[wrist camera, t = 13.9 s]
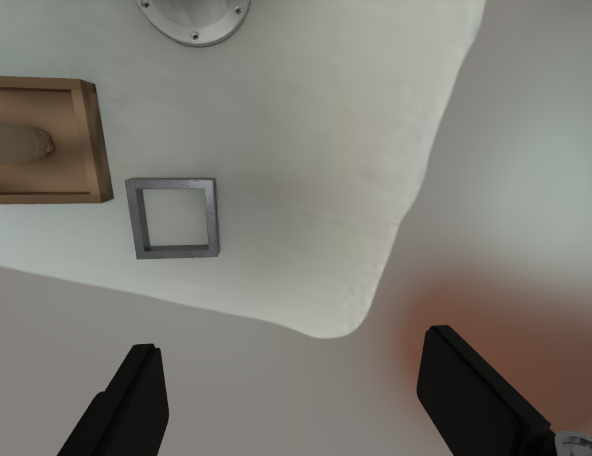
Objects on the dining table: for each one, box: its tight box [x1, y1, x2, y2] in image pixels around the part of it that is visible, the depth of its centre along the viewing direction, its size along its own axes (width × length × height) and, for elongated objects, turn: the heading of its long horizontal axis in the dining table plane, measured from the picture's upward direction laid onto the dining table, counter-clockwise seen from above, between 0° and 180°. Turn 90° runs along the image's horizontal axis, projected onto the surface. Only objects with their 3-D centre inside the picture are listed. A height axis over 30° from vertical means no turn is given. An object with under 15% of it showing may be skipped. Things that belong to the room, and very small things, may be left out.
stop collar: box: [125, 178, 219, 259], centre depth 37 cm, size 10×10×2 cm
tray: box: [0, 76, 114, 204], centre depth 33 cm, size 13×13×3 cm
